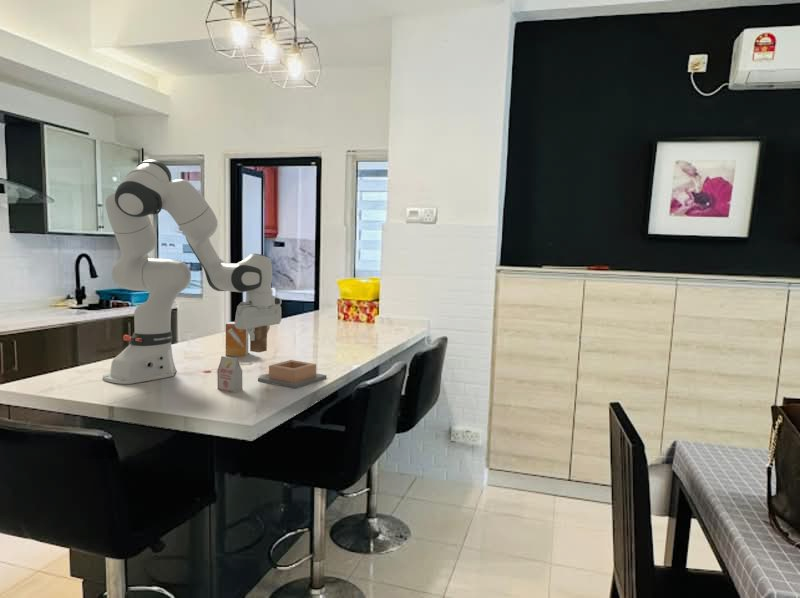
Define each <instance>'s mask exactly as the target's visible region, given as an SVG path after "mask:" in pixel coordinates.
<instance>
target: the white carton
mask: <svg viewBox="0 0 800 598" xmlns="http://www.w3.org/2000/svg"><path fill="white" fill-rule="evenodd" d="M216 373H217V390H220V391H225V392H229V393H232V394H233V393H236V392H237V393H238V392H240V391H243V369H242V368H241V364H240V362H239V359H238V358H235V357H229V356H223V355H222V356H221V358H220V362H219V365H218V368H217V371H216Z"/></svg>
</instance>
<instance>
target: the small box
mask: <svg viewBox="0 0 800 598" xmlns="http://www.w3.org/2000/svg"><path fill="white" fill-rule="evenodd" d="M248 353H249V333H248V331H247V329H244V330H242V329H236V327H235V321H228V322H226V324H225V357H229V356H232V357H234V356H235V357H237V356H238V357H241V356H244V357H246V356H248Z"/></svg>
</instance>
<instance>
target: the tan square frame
mask: <svg viewBox="0 0 800 598" xmlns="http://www.w3.org/2000/svg"><path fill="white" fill-rule="evenodd" d="M325 379H327V374H322V373H317V363H313V362H306V361H300V360H294V359H289V360H286V361H281V362H278V363H274V364H271V365H268V375H263V376H260V377H257V382H259V383H260V382H261V383H265V384H269V385H270V384H271V385H275V386H281V387H285V388H291V389H298V388H301V387H305V386H307V385H310V384H313V383H316V382H319V381H322V380H325Z"/></svg>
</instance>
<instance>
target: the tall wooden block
mask: <svg viewBox="0 0 800 598" xmlns="http://www.w3.org/2000/svg"><path fill="white" fill-rule="evenodd" d="M254 334H255V335H257V340H254V341H251V340H250V339H249V342H250V345H249V352H254V353H263V352H267V351H268V350H267V348H268V344H267V343H268V333H267V326H261V327H257V328H255V331H254Z"/></svg>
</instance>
